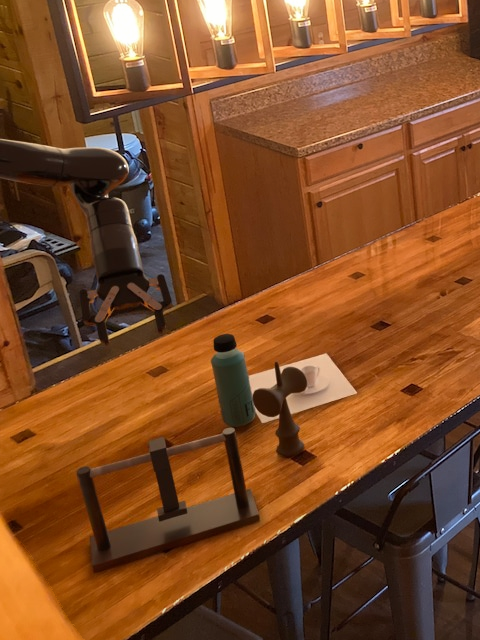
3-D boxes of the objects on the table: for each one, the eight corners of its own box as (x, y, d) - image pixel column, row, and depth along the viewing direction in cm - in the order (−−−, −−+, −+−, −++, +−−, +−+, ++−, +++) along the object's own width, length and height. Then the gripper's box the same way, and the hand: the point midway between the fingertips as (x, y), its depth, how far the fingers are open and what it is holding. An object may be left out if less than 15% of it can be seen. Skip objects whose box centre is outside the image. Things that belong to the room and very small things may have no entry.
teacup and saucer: (294, 401, 199) (291, 384, 197) (282, 384, 205) (280, 368, 203) (334, 388, 203) (332, 372, 202) (322, 372, 209) (320, 356, 208)
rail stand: (93, 573, 153) (69, 488, 147) (91, 543, 160) (68, 460, 153) (260, 521, 165) (245, 439, 158) (251, 494, 171) (237, 415, 164)
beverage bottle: (251, 433, 188) (235, 346, 180) (218, 433, 188) (200, 346, 180) (262, 414, 194) (246, 329, 186) (229, 415, 194) (213, 329, 186)
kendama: (262, 462, 180) (245, 371, 172) (292, 434, 188) (278, 346, 180) (288, 468, 178) (273, 377, 170) (318, 439, 186) (305, 351, 178)
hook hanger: (158, 513, 161) (141, 441, 160) (186, 505, 163) (170, 433, 162) (160, 530, 153) (142, 453, 152) (189, 521, 155) (172, 445, 154)
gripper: (68, 254, 164) (86, 341, 159) (157, 238, 170) (177, 321, 166) (74, 270, 170) (91, 354, 166) (160, 254, 177) (179, 335, 172)
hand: (134, 338), depth 166 cm, fingers open, 8 cm apart
